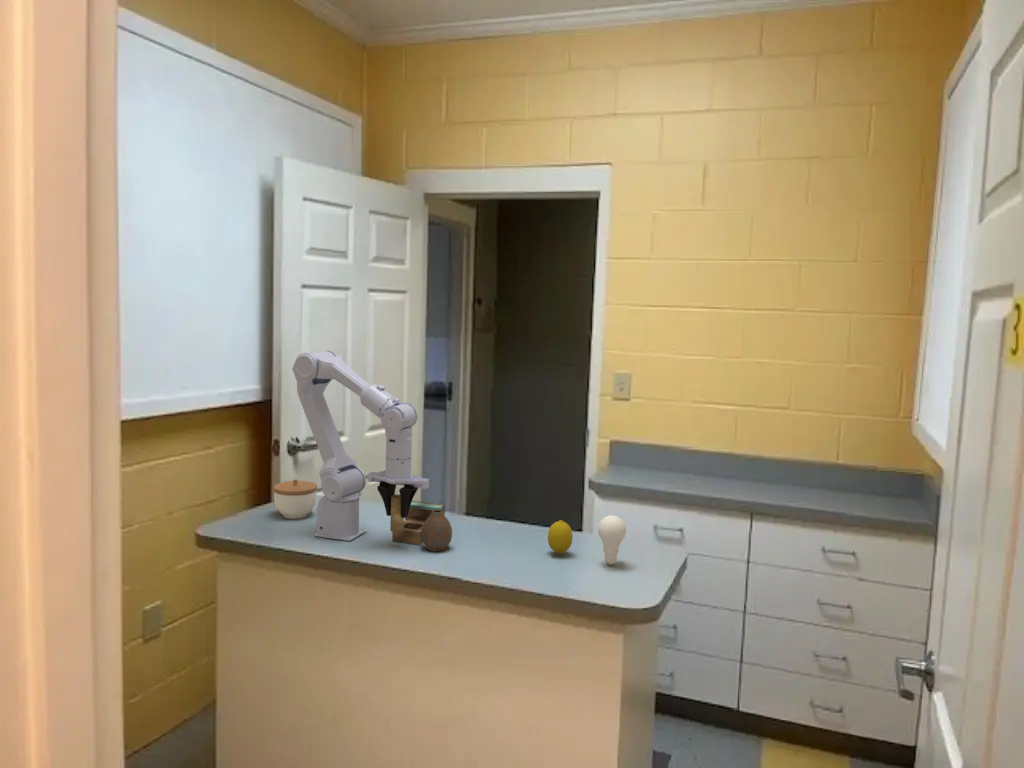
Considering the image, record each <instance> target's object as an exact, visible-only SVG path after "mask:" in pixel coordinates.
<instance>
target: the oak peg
mask: <svg viewBox="0 0 1024 768" xmlns="http://www.w3.org/2000/svg"><path fill="white" fill-rule="evenodd" d="M404 521H405V518H401V497H400V493H399V494H397V493H395V495H392V496H391V515H390V521H389V522H390V526H389V527H390V528H389V529H390V530H389V531H390V532H402V531H404Z"/></svg>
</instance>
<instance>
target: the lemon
mask: <svg viewBox="0 0 1024 768" xmlns="http://www.w3.org/2000/svg"><path fill="white" fill-rule="evenodd" d="M549 527H550V528H549V529H548V533H547V542H548V546H549V548H550V549H551V550H552V551H554V552H555V553H557V555H559V556H560V555H562V554H563V553H564V552H567V551H568V550H569V549H570V548H571V546H572V543H573V530H572V527H570V525H569V524H568V523H566V521H563V520H562V519H560V520H558V521H555V522H553V524H551V525H550V526H549Z"/></svg>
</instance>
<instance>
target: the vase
mask: <svg viewBox="0 0 1024 768" xmlns="http://www.w3.org/2000/svg"><path fill="white" fill-rule="evenodd" d="M452 537H453V528H452V525H451V522H450V521H449V519H448V518H447V516H446V514H445V515H444V513H443V511H442V510H433V511H432V512H431V514H430V516H429V517H428V518H427V519H426V521H425V522H424V524H423V527H422V541H423V543H422V544H423V545H424V547H425V548H427V550H429V551H433V552H441V551H444V550H446V549H447V548H448V547H449V546H450V543H451V541H452Z"/></svg>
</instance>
